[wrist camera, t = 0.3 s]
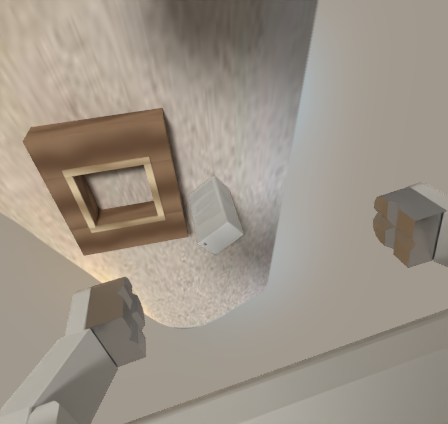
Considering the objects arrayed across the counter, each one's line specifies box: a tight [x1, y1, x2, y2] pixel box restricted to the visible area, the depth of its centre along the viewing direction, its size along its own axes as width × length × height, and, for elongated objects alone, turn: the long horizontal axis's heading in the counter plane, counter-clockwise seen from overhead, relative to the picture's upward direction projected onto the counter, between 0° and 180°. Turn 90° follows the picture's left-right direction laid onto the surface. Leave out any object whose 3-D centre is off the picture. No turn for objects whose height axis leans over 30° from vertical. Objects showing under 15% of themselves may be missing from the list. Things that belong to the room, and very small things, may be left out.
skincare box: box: [189, 175, 244, 255], centre depth 53 cm, size 6×4×12 cm
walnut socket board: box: [23, 108, 188, 255], centre depth 52 cm, size 22×18×4 cm
